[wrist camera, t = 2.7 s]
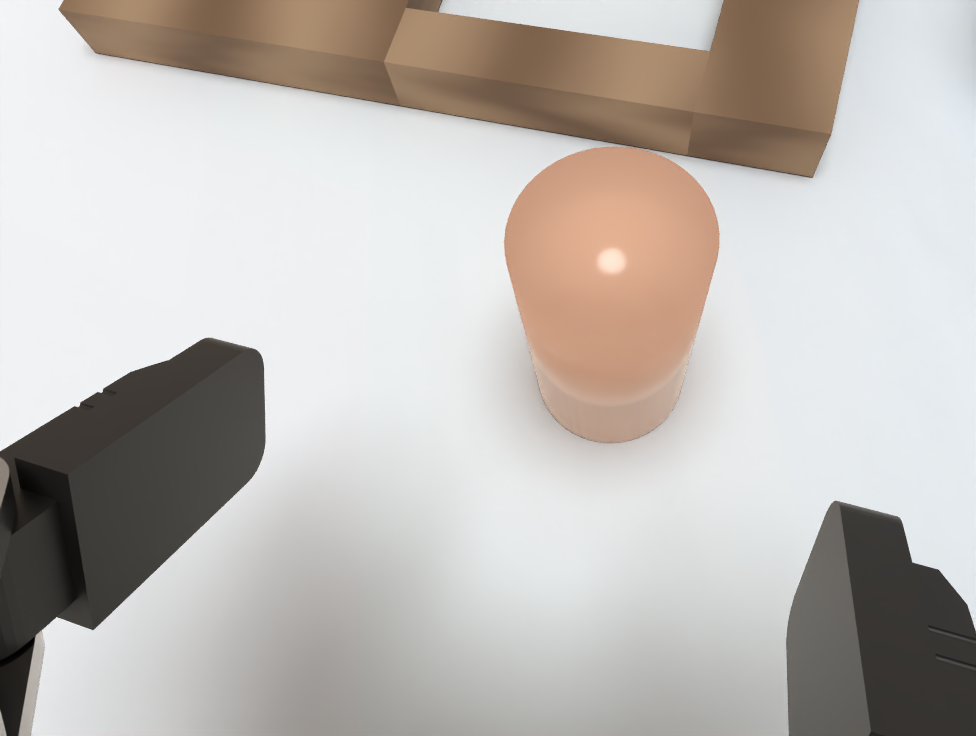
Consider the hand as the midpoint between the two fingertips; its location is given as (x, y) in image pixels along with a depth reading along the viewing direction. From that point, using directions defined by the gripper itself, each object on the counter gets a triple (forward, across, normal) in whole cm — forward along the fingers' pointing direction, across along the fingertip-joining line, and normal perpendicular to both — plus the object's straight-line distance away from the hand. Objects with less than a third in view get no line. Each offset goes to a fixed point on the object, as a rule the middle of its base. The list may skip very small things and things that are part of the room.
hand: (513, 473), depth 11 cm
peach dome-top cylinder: (+10, 0, +3) cm, 11 cm away
